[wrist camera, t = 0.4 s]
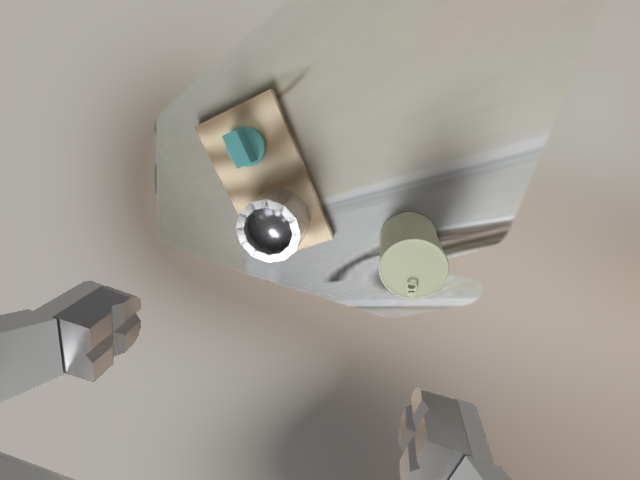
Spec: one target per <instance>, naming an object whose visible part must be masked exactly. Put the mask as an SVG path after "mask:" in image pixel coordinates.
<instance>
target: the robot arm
mask: <svg viewBox="0 0 640 480" xmlns="http://www.w3.org/2000/svg"><path fill="white" fill-rule="evenodd" d="M140 309H141V303H140V299H139V298H138V297H137V296H134V295H131V294H128V293H125V292H122V291H119V290H116V289H114V288H111V287H108V286H104V285H101V284H98V283H95V282H93V281H85V282H83V283H81V284H79V285H77V286H76V287H74V288H72V289H71V290H69V291H67V292H65V293H63V294H62V295H60V296H58V297H57V298H55V299H53V300H51V301H50V302H48V303H46V304H44V305H43V306H41V307H39V308H38V309H36V310H34V311H31V310H23V311H18V312H14V313H9V314H5V315H0V403H1V402H3V401H5V400H8V399H10V398H12V397H14V396H17V395H19V394H21V393H23V392H26V391H28V390H30V389H32V388H35V387H37V386H39V385H41V384H44V383H46V382H48V381H50V380H53V379H55V378H57V377H59V376H62V375H63V373H66V374H69V375H73V376H76V377H79V378H82V379H85V380H89V381H92V382H94V381H95V380H96V379H97V378H99V377H100V376H101V375H102V374H103V373H104V372H105V371H106V370H107V369H108V368H109V367H110V366H111V365H112V364H113V360H114V356H116V355H119V354H122V353H125V352H126V351H127V350H128V349H129V348H130V347H131V346H132V345H133V343H134V342H135V340H136V339H137V337H138V335H139V331H140V328H141V321H140V319H139V317H138V316H137V314H136V313H137V311H139V310H140ZM411 403H412V405H410V406H407V407H405V409H404V412H403V414H402V416H401V420H400V424H399V433H398V437H399V438H398V439H399V446H400V447H401V449H402V451H403V452H404V453H403V455H402V457H401V459H400V461H399V464H400V480H511V479H510V478H509V476H508V475H507V474H506V472H505V471H504V470H503V469H502V468H501V467H500V466H497V465H495V464H494V461H493V458H492V454H491V451H490V448H489V445H488V442H487V439H486V435H485V433H484V429H483V426H482V423H481V420H480V416H479V413H478V410H477V407H476V406H475V405H474V404H473V403H470V402H467V401H463V400H460V399H456V398H452V397H449V396H446V395H443V394H440V393H436V392H433V391H430V390H427V389H424V388H421V387H417V388H416V389H415V390H414V391H413V393H412V395H411ZM0 480H75V479H72V478H69V477H67V476H64V475H61V474H58V473H56V472H53V471H51V470H48V469H45V468H42V467H40V466H37V465H34V464H32V463H29V462H26V461H23V460H21V459H18V458H15V457H13V456H10V455H7V454H5V453H2V452H0Z"/></svg>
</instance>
